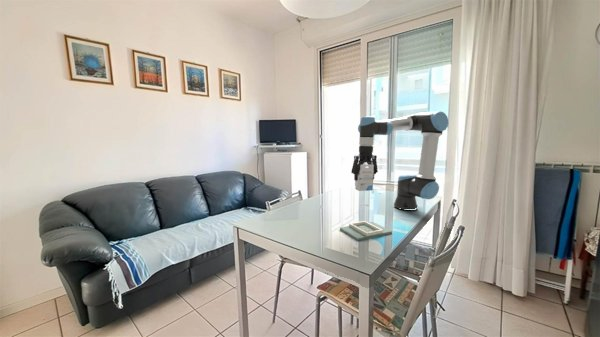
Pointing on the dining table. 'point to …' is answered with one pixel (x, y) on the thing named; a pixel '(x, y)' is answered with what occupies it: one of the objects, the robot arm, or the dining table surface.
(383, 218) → the dining table surface
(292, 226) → the dining table surface
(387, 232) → the board
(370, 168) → the ink box
